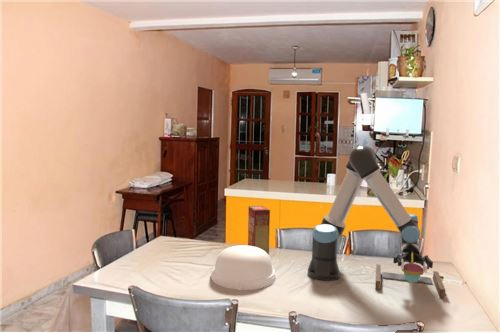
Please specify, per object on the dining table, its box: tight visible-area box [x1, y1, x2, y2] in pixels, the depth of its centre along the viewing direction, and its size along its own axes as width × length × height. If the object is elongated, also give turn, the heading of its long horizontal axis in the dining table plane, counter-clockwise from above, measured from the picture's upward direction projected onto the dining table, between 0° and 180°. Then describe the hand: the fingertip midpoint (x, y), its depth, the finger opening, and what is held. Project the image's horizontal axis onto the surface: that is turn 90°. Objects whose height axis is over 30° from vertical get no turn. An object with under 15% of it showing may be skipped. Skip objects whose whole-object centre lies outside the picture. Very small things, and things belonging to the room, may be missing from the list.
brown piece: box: [374, 264, 446, 300], centre depth 192 cm, size 28×24×4 cm
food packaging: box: [247, 205, 271, 255], centre depth 236 cm, size 13×9×25 cm
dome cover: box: [210, 244, 277, 291], centre depth 195 cm, size 32×30×14 cm
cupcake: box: [401, 251, 425, 283], centre depth 175 cm, size 9×8×12 cm
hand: (414, 268), depth 170 cm, fingers closed on cupcake, 8 cm apart
